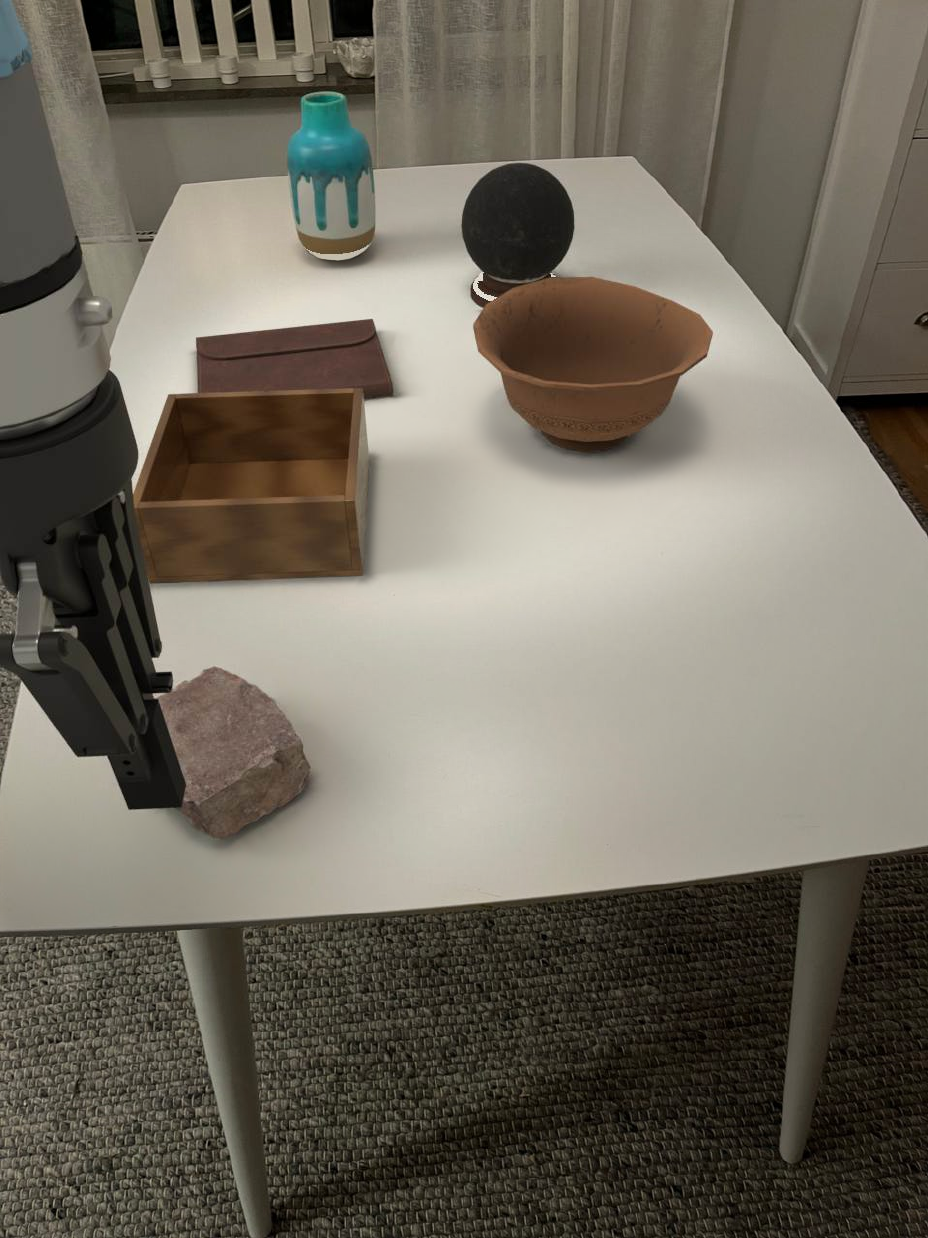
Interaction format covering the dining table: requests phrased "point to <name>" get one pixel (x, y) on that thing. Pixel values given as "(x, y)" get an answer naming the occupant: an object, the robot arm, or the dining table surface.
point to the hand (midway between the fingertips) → (157, 796)
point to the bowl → (589, 356)
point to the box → (255, 486)
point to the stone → (232, 751)
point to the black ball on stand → (516, 227)
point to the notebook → (295, 360)
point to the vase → (331, 178)
